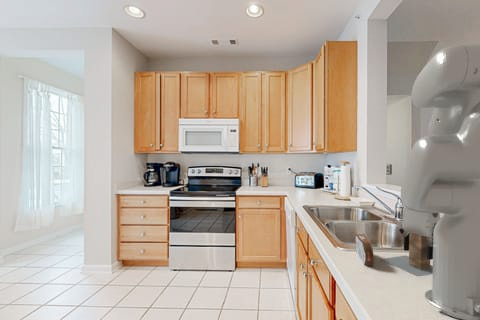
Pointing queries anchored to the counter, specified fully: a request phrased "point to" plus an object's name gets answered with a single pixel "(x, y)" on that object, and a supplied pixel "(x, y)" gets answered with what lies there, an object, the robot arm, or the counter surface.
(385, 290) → the counter surface
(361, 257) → the tin
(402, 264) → the mat
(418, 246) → the block
